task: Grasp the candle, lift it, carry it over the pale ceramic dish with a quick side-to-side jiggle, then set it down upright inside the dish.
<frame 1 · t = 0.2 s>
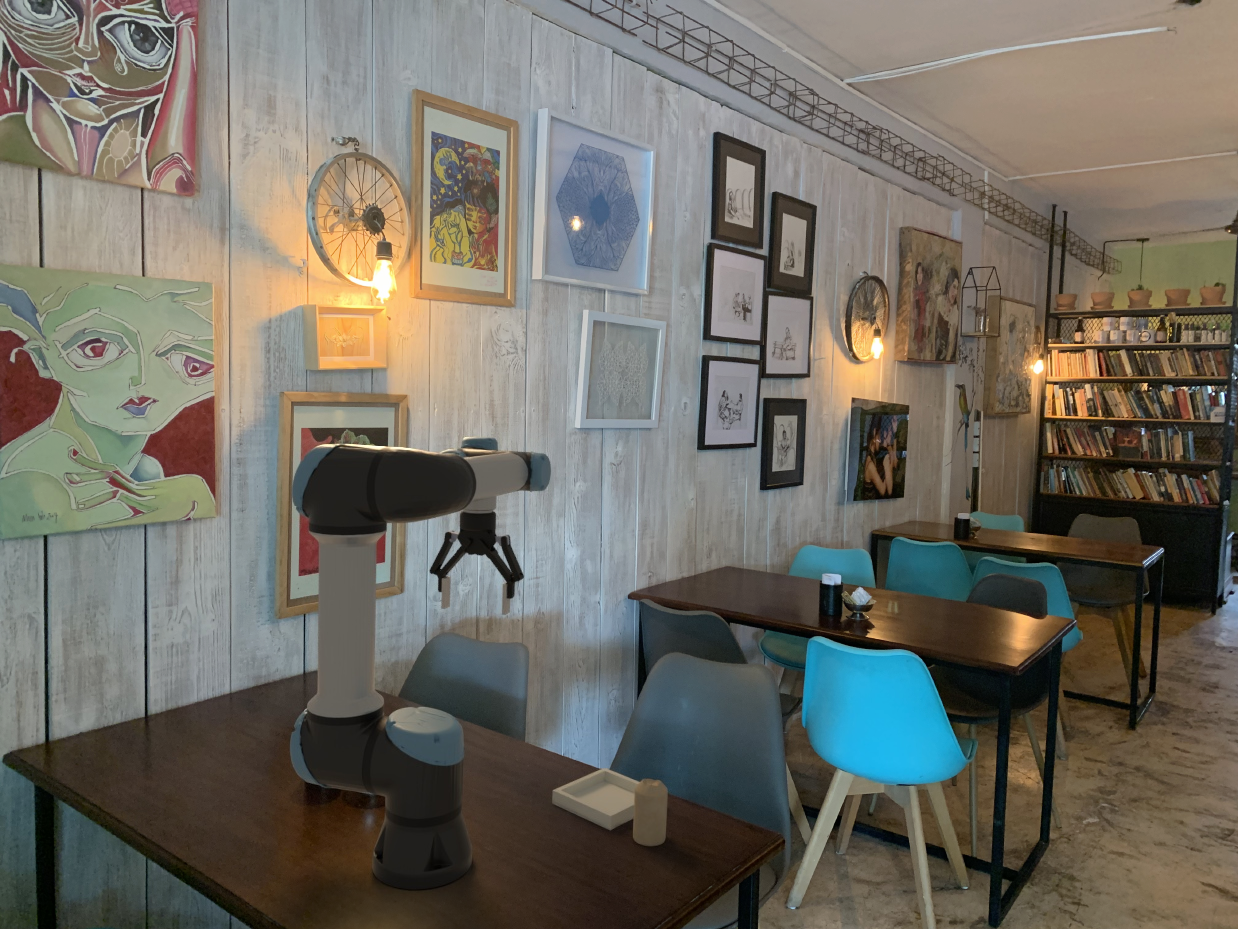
hand: (475, 610, 186), 28 cm above the table, fingers open, 13 cm apart
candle: (649, 839, 148), on the table
dish: (606, 804, 160), on the table
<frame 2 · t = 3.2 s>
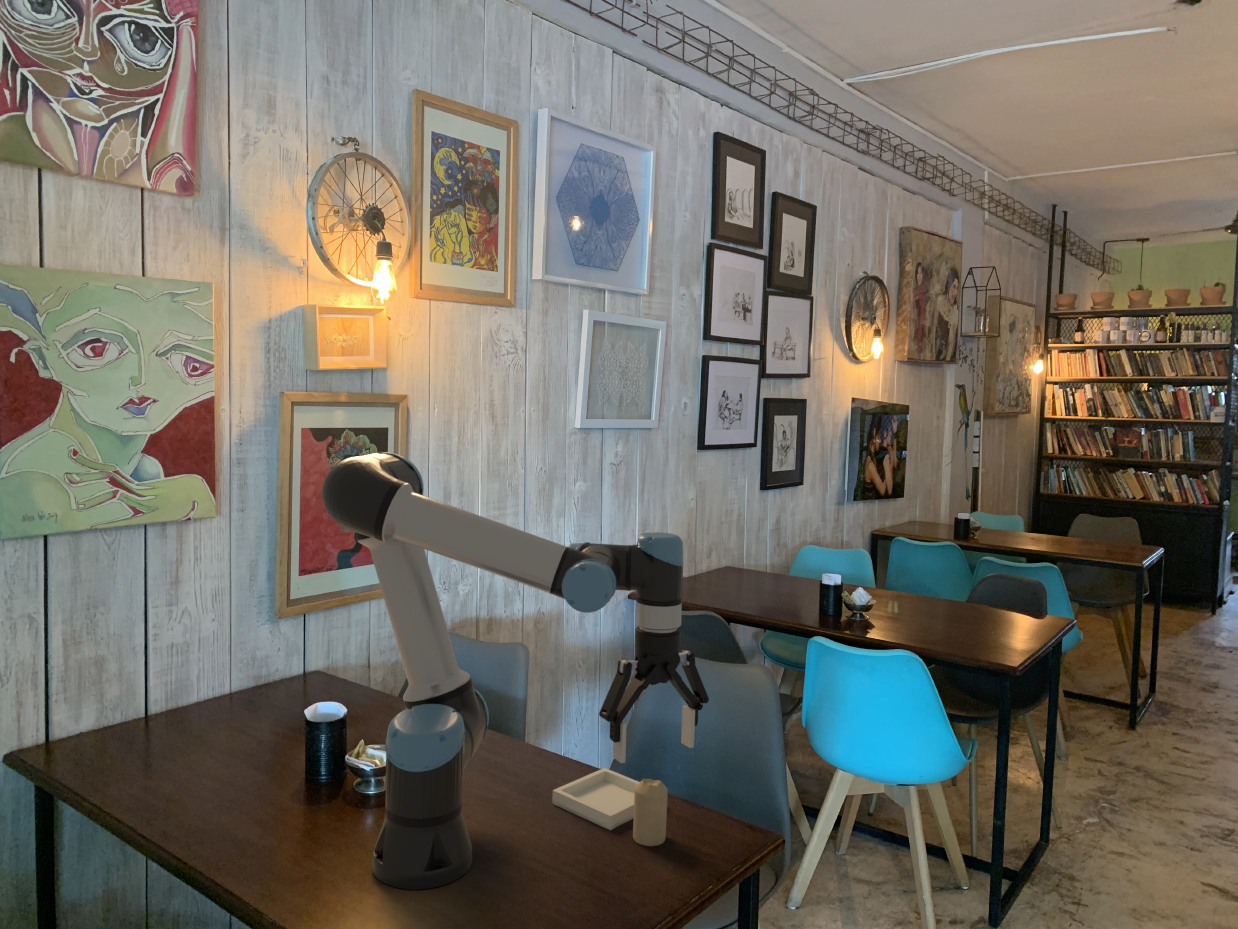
hand: (654, 752, 147), 15 cm above the table, fingers open, 13 cm apart
nothing on the table moved.
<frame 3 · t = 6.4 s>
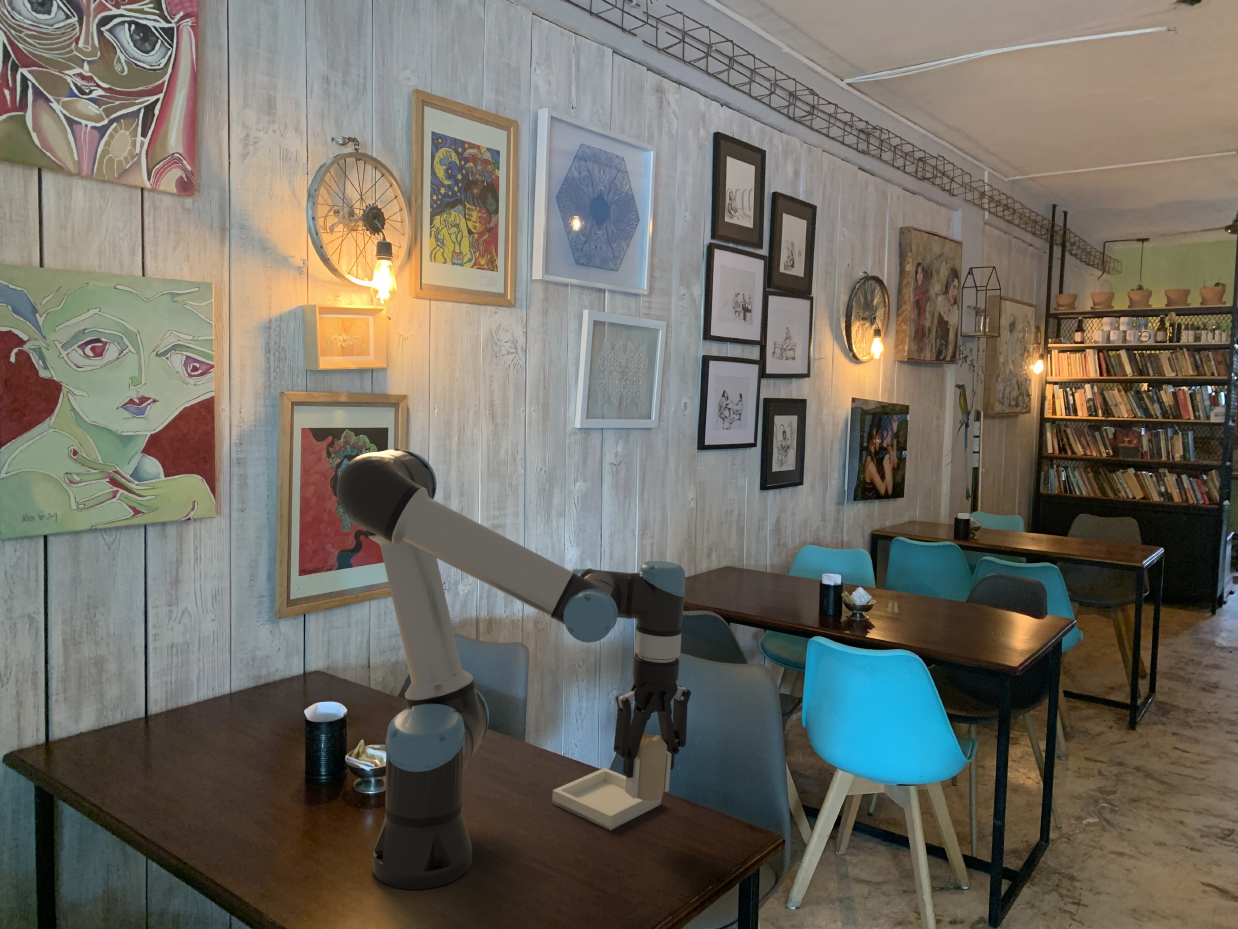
hand: (646, 791, 147), 8 cm above the table, fingers closed on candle, 5 cm apart
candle: (646, 795, 147), point 7 cm above the table, touching gripper
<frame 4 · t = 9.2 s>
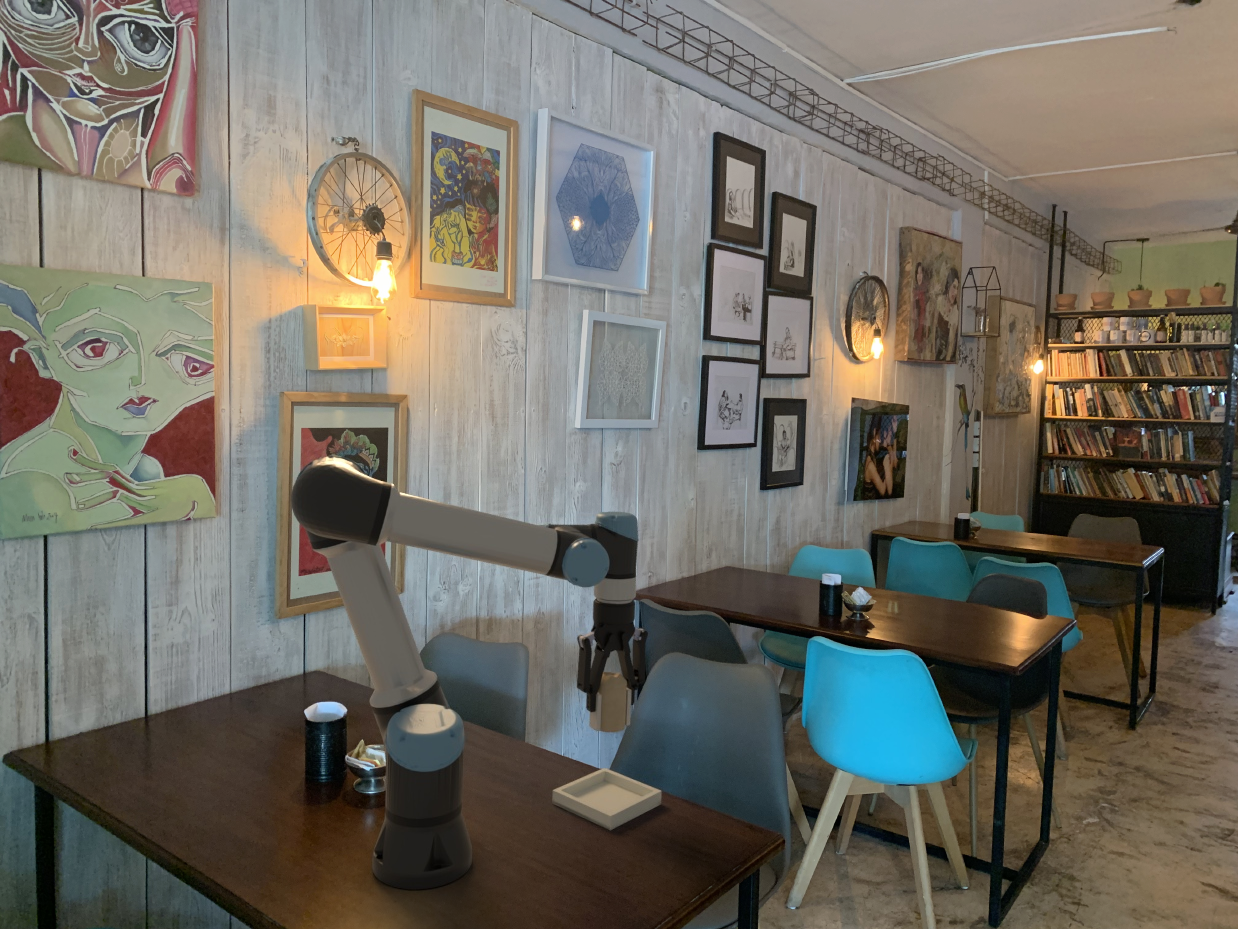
hand: (609, 725, 159), 15 cm above the table, fingers closed on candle, 5 cm apart
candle: (609, 728, 159), point 14 cm above the table, touching gripper
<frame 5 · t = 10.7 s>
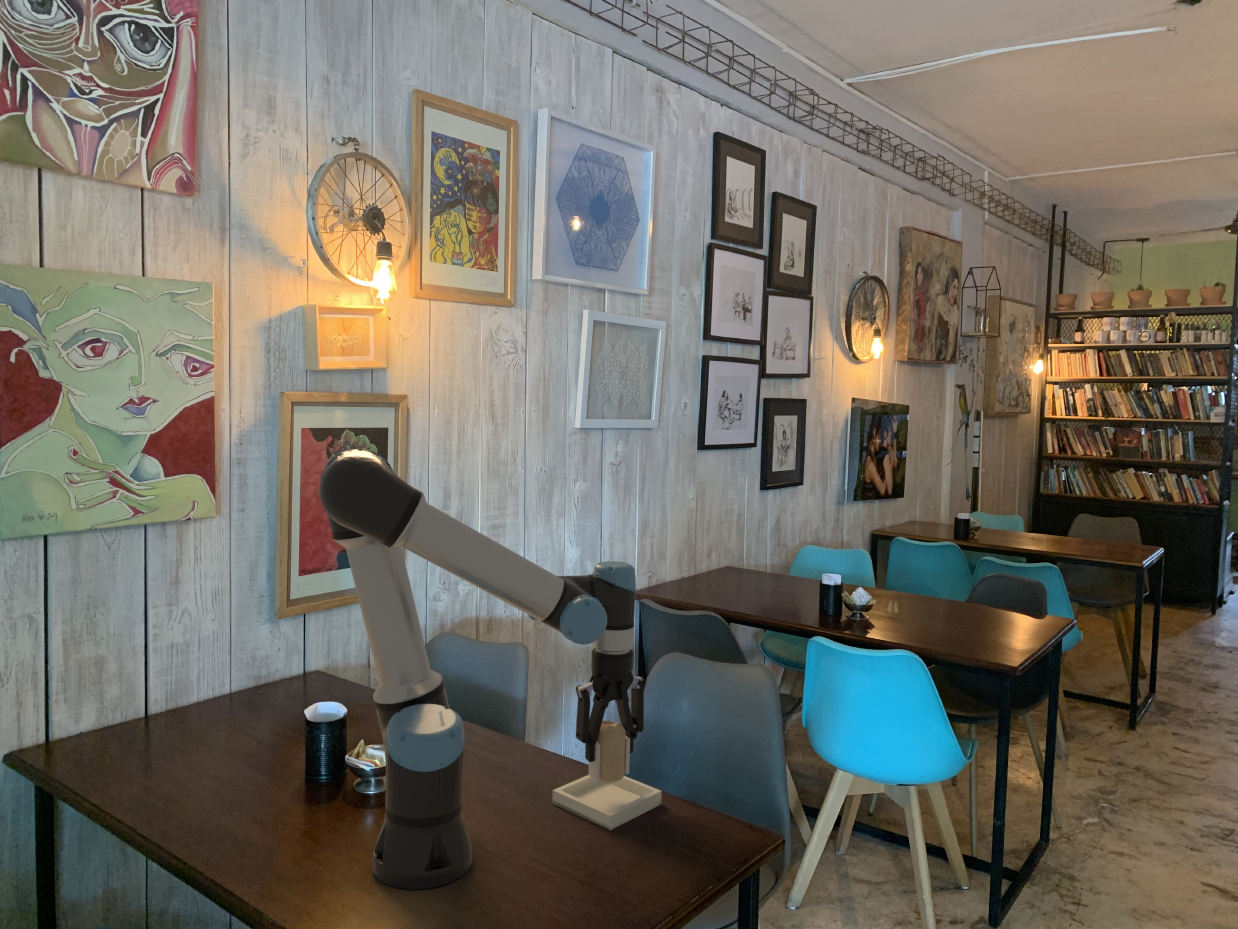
hand: (608, 774, 160), 6 cm above the table, fingers closed on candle, 5 cm apart
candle: (608, 777, 160), point 5 cm above the table, touching gripper
when the fingers open (2 cm above the table, at t = 12.1 s): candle drops 1 cm, resting on dish.
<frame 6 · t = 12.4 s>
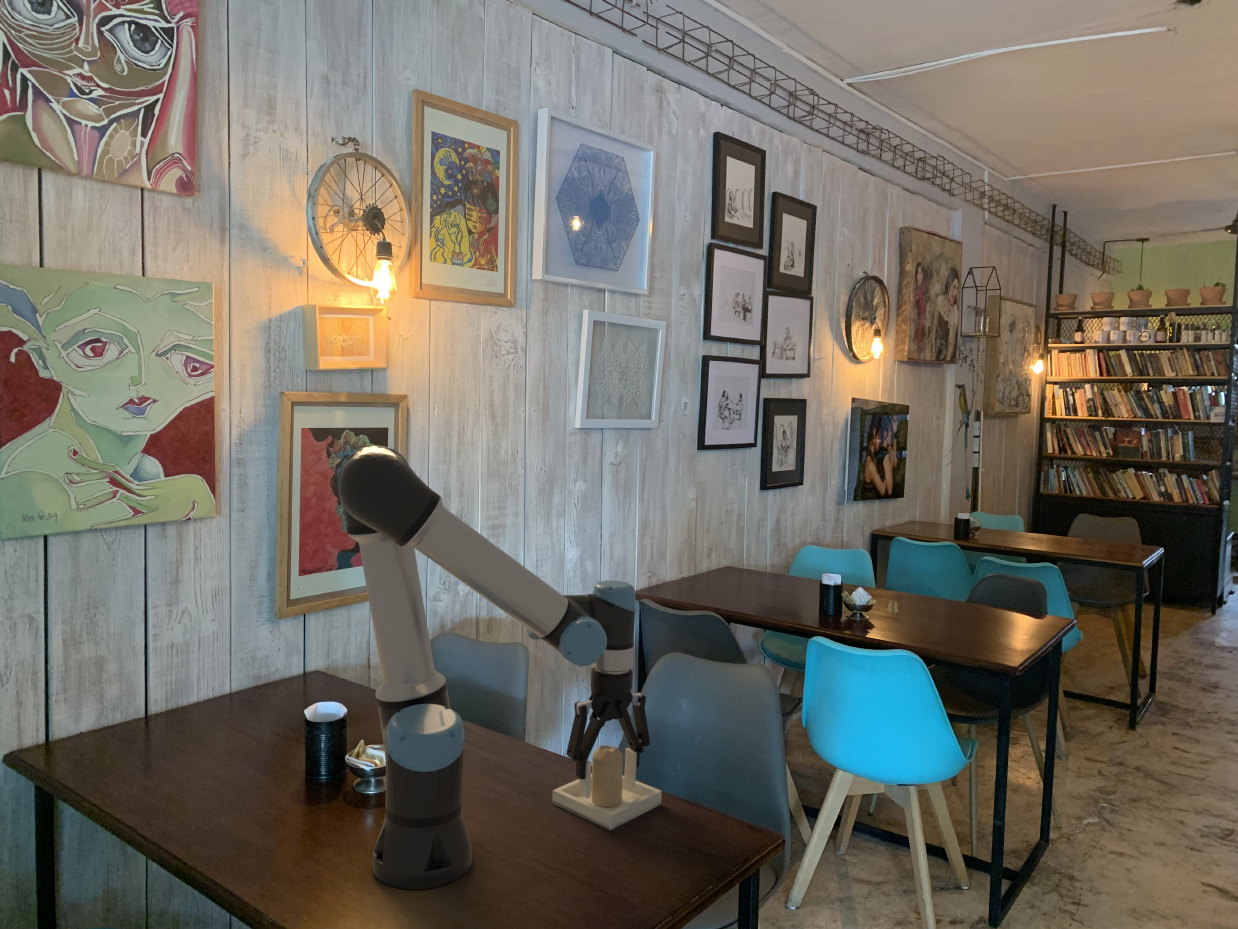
hand: (607, 790, 160), 3 cm above the table, fingers open, 9 cm apart
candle: (606, 801, 160), resting on dish
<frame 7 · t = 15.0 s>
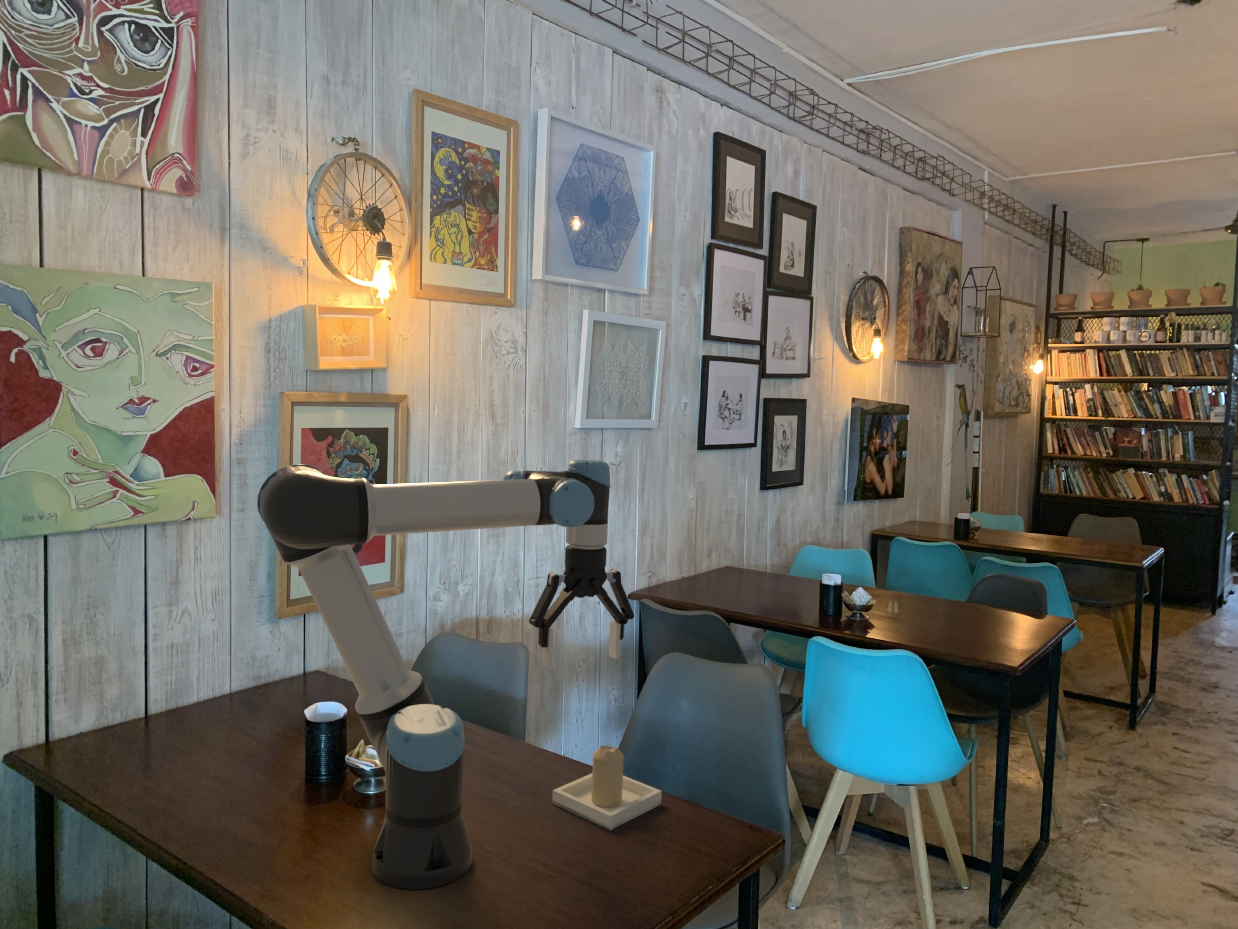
hand: (580, 661, 161), 25 cm above the table, fingers open, 13 cm apart
nothing on the table moved.
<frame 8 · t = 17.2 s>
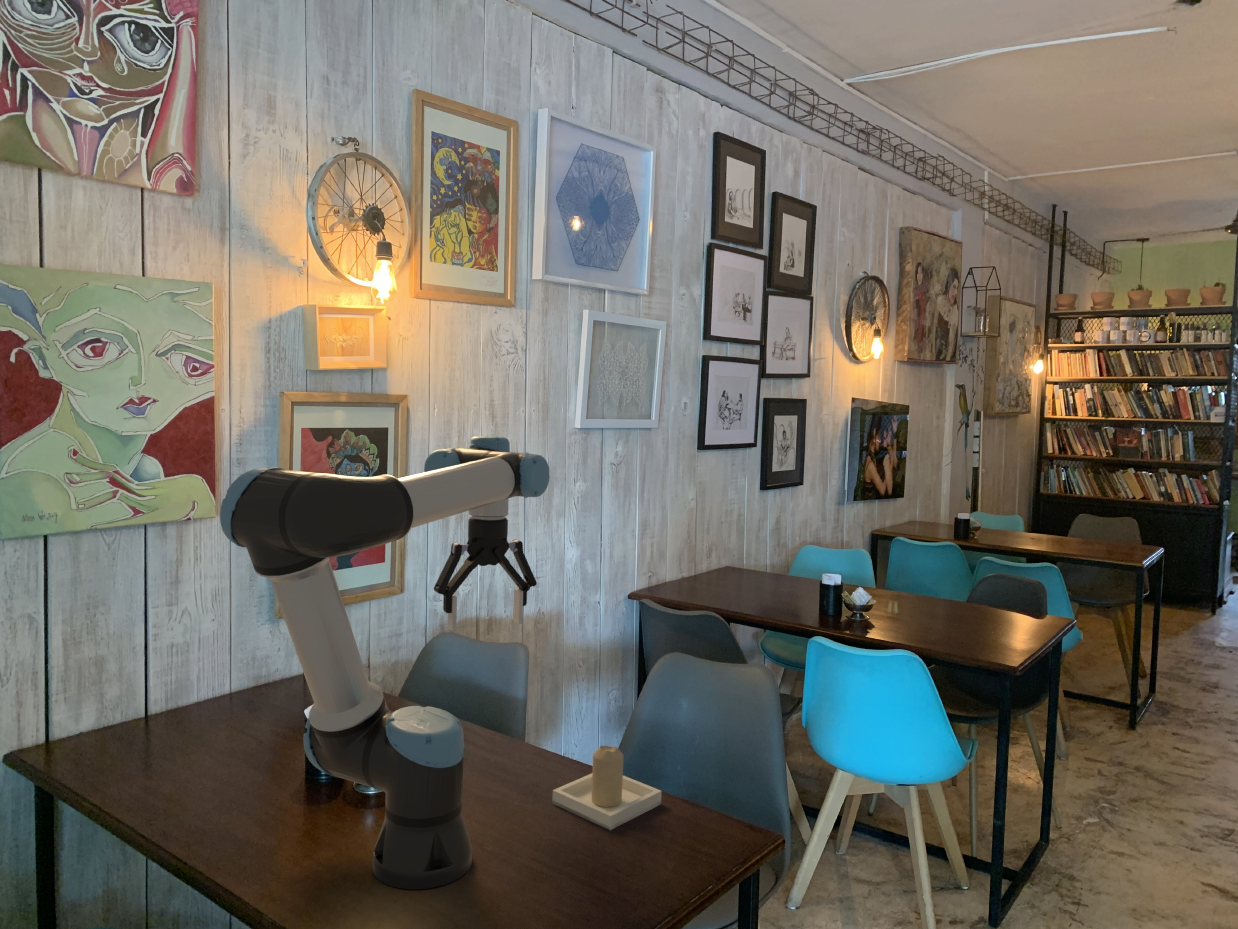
hand: (485, 626, 170), 29 cm above the table, fingers open, 13 cm apart
nothing on the table moved.
at the end: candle 0.1 cm from the dish (horizontally); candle tilted 0°; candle resting on dish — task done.
